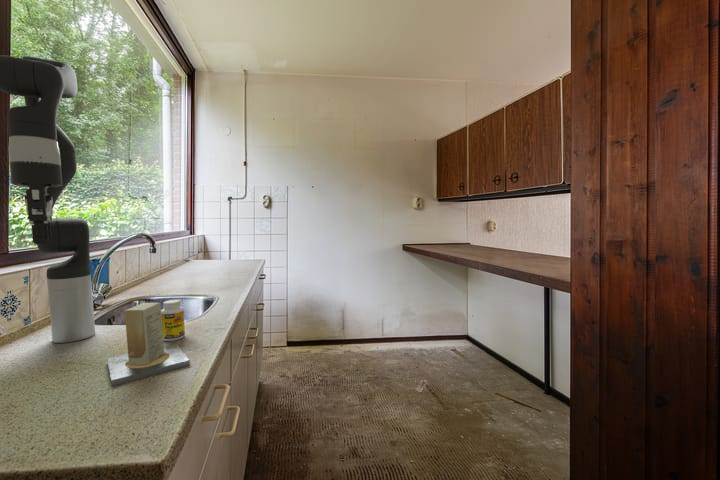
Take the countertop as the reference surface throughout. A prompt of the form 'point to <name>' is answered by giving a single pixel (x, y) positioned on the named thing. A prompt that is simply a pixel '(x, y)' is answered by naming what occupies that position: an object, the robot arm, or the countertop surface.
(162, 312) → the supplement bottle
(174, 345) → the grey square plate
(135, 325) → the skincare box
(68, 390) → the countertop surface
